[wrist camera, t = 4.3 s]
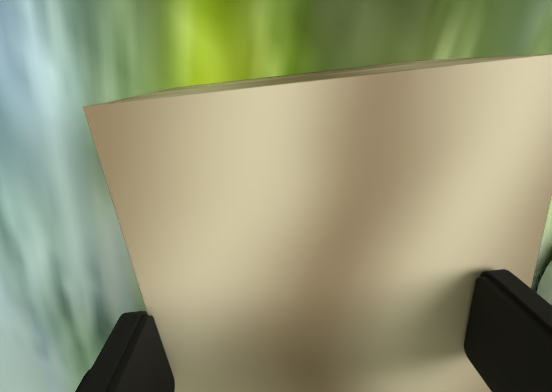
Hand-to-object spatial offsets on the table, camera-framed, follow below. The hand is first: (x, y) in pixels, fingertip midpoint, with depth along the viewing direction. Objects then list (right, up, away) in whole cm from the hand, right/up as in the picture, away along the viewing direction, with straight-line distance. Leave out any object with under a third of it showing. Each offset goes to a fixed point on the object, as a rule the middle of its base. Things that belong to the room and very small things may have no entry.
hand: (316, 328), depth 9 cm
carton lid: (+1, +1, 0) cm, 1 cm away
